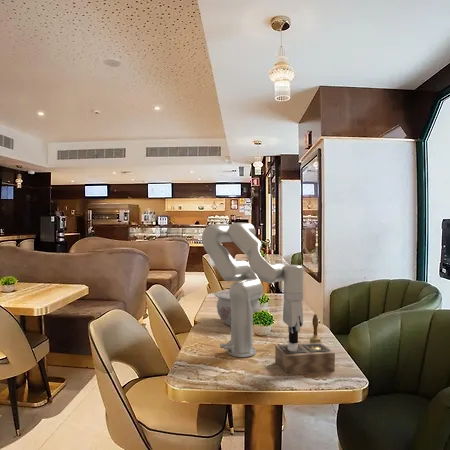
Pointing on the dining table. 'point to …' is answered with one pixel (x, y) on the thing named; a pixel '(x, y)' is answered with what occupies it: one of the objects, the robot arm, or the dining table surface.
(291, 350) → the steel plunger
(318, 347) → the brass plunger
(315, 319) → the hand bell
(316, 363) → the walnut block
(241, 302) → the robot arm
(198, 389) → the dining table surface
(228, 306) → the chamber pot
